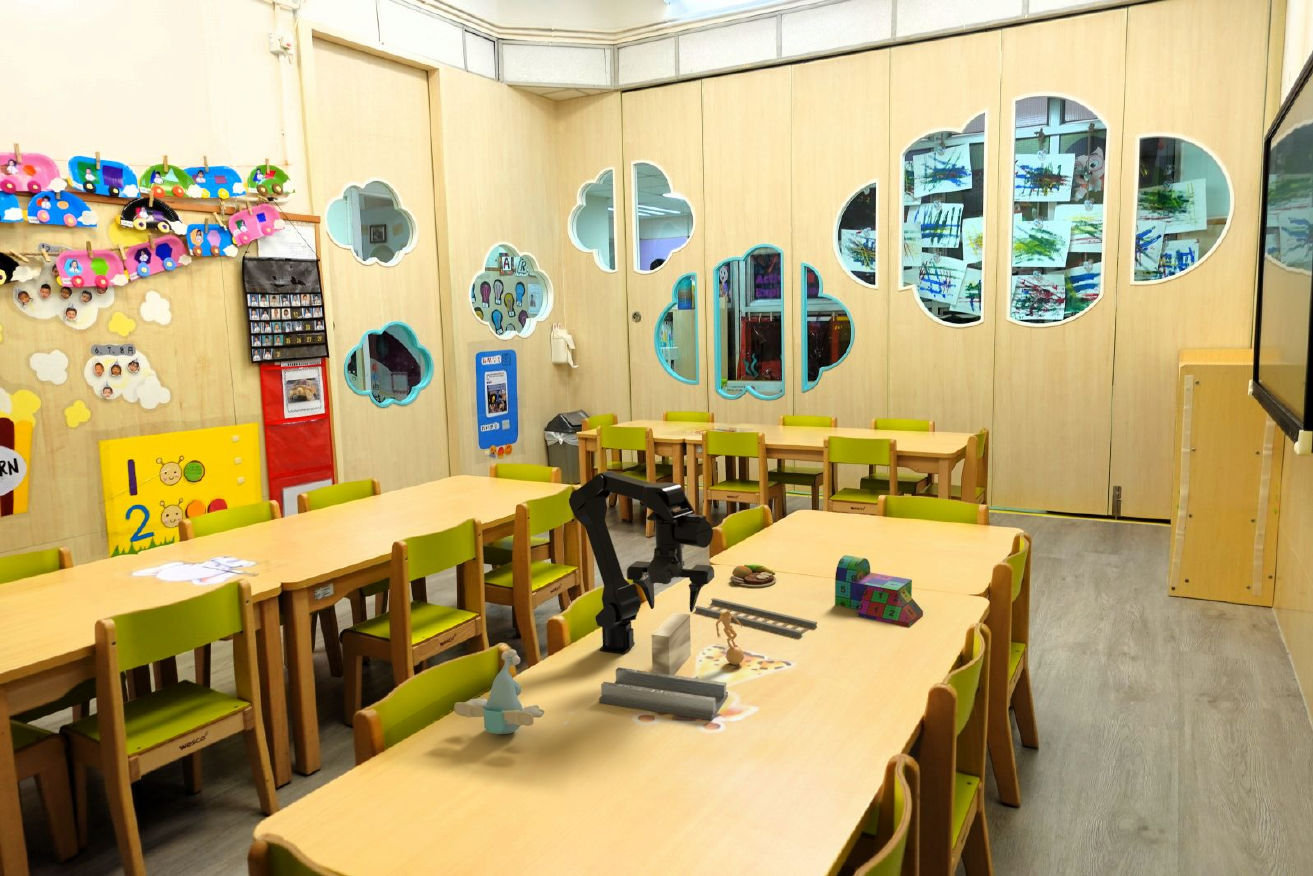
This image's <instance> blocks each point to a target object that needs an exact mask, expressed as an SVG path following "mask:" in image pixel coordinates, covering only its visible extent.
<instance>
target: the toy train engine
mask: <svg viewBox="0 0 1313 876" xmlns="http://www.w3.org/2000/svg"><path fill="white" fill-rule="evenodd" d="M835 569H836V570H835V574H834V575H835V576H834V578H835V579H834V606H840V607H844V608H850V609H854V610H857V617H860V618H864V619H869V620H874V621H879V622H883V623H889V624H892V625H899V626H903V627H908V628H910V627H911V626H913V624H914V623H915V622H917V621H918V620H919V619H920V618H922V616H924V611H923V609H922V608H921V607H920V606H919V604H918V603H917V602H916V601H915V600H914V598H913V597H912V591H913V590H912V589H913V586H912V584H913V579H911V578H906V577H905V578H904V577H900V576H899V577H898V576H893V575H888V574H881V573H876V572H871V564H870V562H869V559H867V558H866V557H865V558H864V557H859V556H854V555H853V556H852V555H846V554H845V555H843V556H841V557H840V559H839V561H838V563H837V565H836V568H835Z"/></svg>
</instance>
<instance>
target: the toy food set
mask: <svg viewBox="0 0 1313 876" xmlns="http://www.w3.org/2000/svg"><path fill="white" fill-rule="evenodd" d="M775 576H776V572H774V571H773V570H772V569H770V568H767V567H766V566H764V565H761V564H744V565H737V566H735V567H734V568H733V570H732V575H731V576H730V578H731V579H730V580H731V581H732V582H733V583H734V584H735V585H736V586H740V587H744V588H753V589H754V588H765V587H769V586H773V585H774V584H775V583H776V581H777V577H775Z"/></svg>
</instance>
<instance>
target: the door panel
mask: <svg viewBox="0 0 1313 876" xmlns="http://www.w3.org/2000/svg"><path fill="white" fill-rule="evenodd" d="M691 647H692V644H691V614H690V613H689V614H688V613H681V612H680V613H679V612H673V613H671V615H670V616H669V617H668V618H666V619H665V621H663V622H662V624H661V625H659V627H657V628H656V629H655V630H654V632H652V634H651V663H652V664H651V665H652V667H651V668H652V671H651V672H654V673H662V674H669V675H676V674H677V673H678V672H679V670H680V669H681V668H682V667H683V665H685V663H686V662H687V661H688V660H689V659H690V658H691V656H692V654H691V652H692V649H691Z"/></svg>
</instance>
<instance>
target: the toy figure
mask: <svg viewBox="0 0 1313 876" xmlns="http://www.w3.org/2000/svg"><path fill="white" fill-rule="evenodd" d="M517 653H518V652H517V651H516V650H515V649H513V648H512V649H509V650H508V651H503V652H502V653H501V660H503V661H504V665H503V666H502V668H501V670H500V671H499V672H498V673H497V675H496V676H495V678H494V680H493V683H492V685H491V689H490V692H489V697H488V700H487V698H485V697H483V696H482V697H481V698H470V699H469V700H468V701H465V702H460V701H458V702H455V703H454V705H453V706H454V707H453V708H454V709H453V711H454V713H455V714H456V715H457V716H461V717H467V718H481V717H483V723H484V724H483V725H484V729H485V731H486V732H487V733H490V734H495V735H496V734H497V735H498V734H499V735H509V734H512V733H514V732H515V731H517V730H519V728H520V727H521V726H528V727H529V726H533V724H535V723H534V720H535V719H534V718H537V719H539V718H542V717H543V715H544V714H545V710H544V709H542V708H540V706H539V705H537V704H534V705H533V704H532V705H529V706H524V707H523V705H522V703H521V701H520V699H519V698H518V697H519V696H520V695H521V693H522V687H521V685H520V683H519V682H518V681H516V680H515V679H514V678H513V676H512V674H511V673H510V669H509V667H513V666H517V665H519V664H520V663H521V657H519V655H518V654H517Z"/></svg>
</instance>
